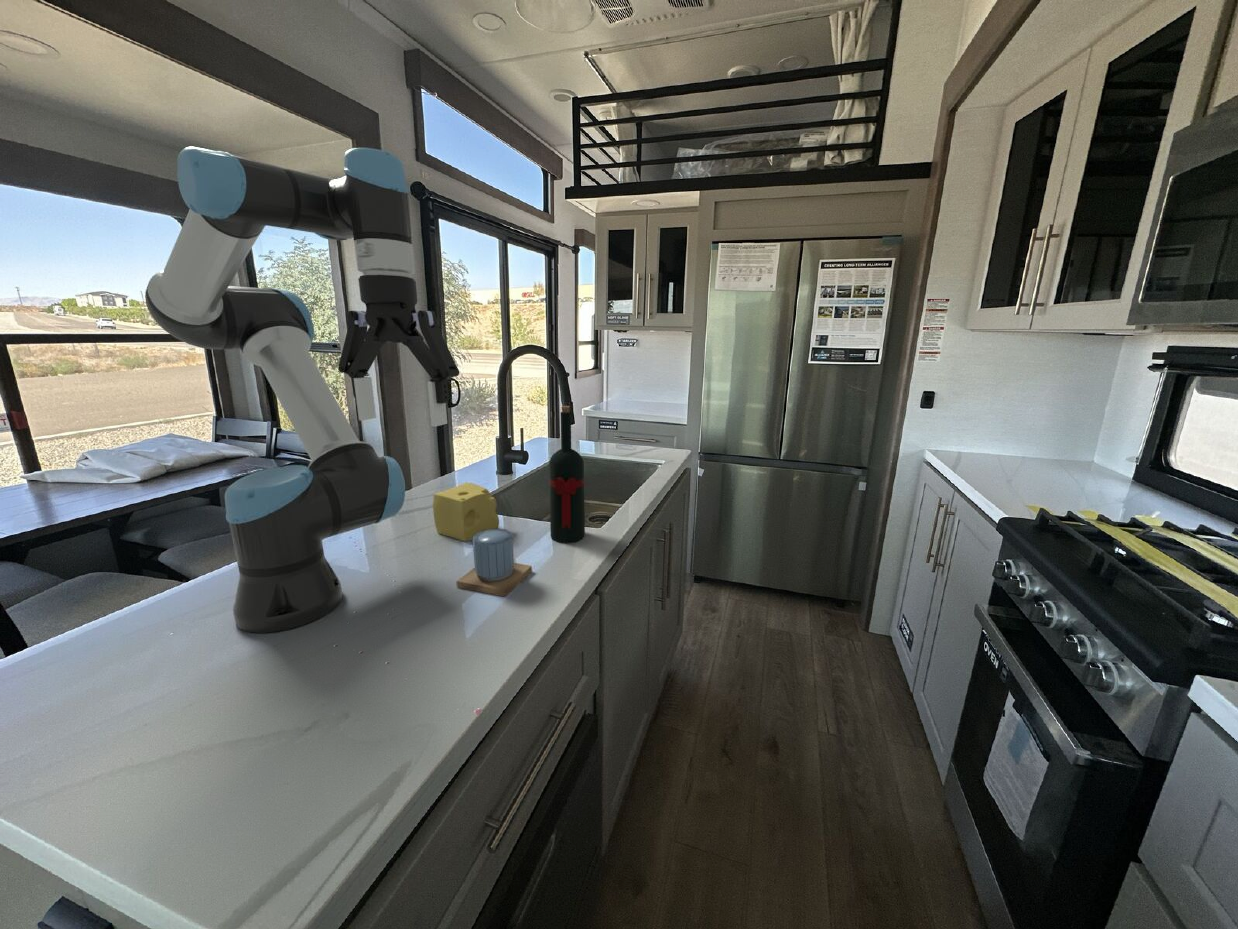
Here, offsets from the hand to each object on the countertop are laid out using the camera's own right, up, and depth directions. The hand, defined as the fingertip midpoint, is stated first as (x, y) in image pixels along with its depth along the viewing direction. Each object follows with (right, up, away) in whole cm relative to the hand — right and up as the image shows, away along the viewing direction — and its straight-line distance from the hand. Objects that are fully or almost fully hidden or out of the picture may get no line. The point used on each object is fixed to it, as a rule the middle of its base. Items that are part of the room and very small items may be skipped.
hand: (402, 422), depth 75 cm
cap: (+10, -26, +16) cm, 33 cm away
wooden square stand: (+10, -28, +17) cm, 35 cm away
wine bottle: (+22, -24, +36) cm, 48 cm away
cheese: (-2, -22, +39) cm, 45 cm away
